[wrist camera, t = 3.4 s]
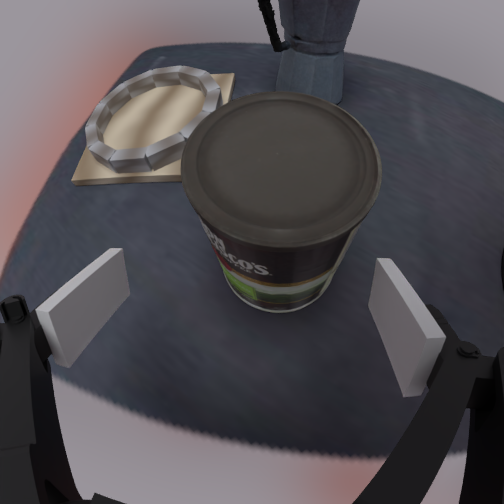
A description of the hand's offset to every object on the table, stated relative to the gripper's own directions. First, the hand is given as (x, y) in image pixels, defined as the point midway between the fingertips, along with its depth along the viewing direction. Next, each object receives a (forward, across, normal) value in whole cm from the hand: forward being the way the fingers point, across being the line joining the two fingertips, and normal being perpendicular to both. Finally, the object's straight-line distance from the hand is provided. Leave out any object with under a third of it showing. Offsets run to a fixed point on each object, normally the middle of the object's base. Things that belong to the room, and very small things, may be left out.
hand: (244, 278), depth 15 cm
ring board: (+24, -14, +9) cm, 29 cm away
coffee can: (+12, +2, -4) cm, 13 cm away
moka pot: (+28, +5, +13) cm, 31 cm away
